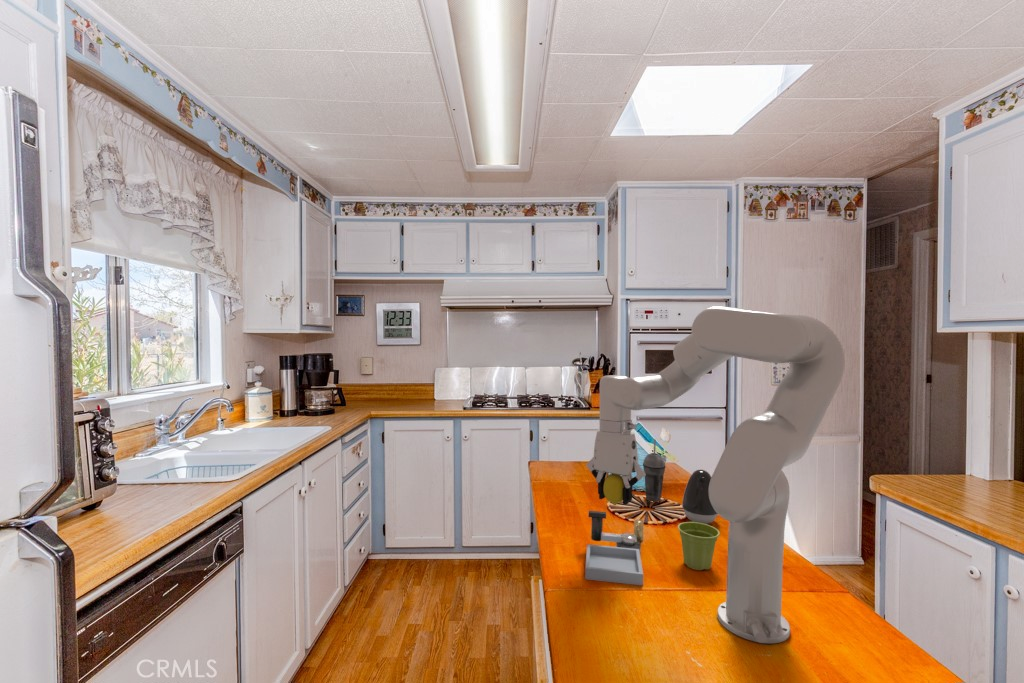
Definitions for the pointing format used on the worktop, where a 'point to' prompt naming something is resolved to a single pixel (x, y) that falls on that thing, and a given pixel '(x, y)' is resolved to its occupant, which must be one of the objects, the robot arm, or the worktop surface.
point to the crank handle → (599, 536)
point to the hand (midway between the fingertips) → (614, 499)
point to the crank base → (638, 532)
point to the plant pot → (698, 544)
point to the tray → (613, 564)
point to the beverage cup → (654, 475)
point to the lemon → (614, 488)
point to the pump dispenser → (698, 498)
